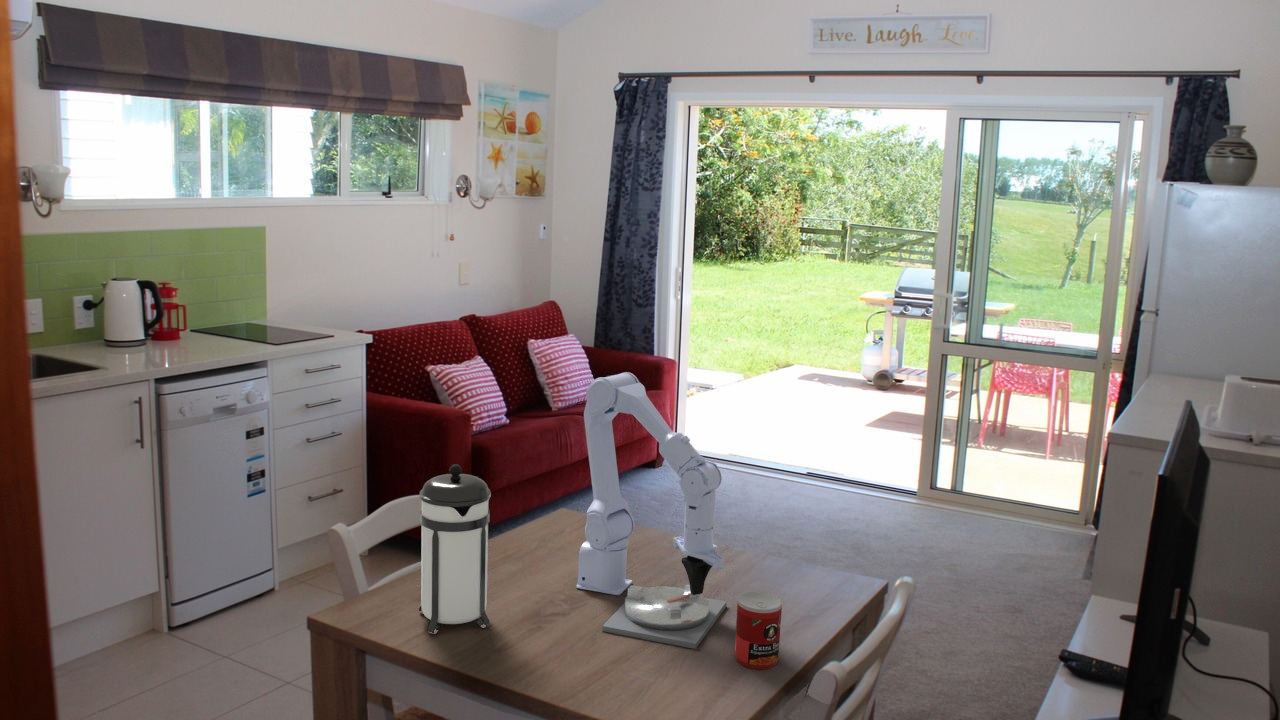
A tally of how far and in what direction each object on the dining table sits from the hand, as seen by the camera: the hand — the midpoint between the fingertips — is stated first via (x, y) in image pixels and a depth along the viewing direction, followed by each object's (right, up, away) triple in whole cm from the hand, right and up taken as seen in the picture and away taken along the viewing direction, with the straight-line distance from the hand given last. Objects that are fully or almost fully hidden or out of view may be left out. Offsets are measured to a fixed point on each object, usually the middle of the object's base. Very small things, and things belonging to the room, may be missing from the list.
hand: (696, 593), depth 199 cm
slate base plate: (-6, -4, -2) cm, 8 cm away
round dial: (-6, -3, -2) cm, 7 cm away
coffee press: (-46, -3, -6) cm, 47 cm away
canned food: (+10, -8, -18) cm, 22 cm away
